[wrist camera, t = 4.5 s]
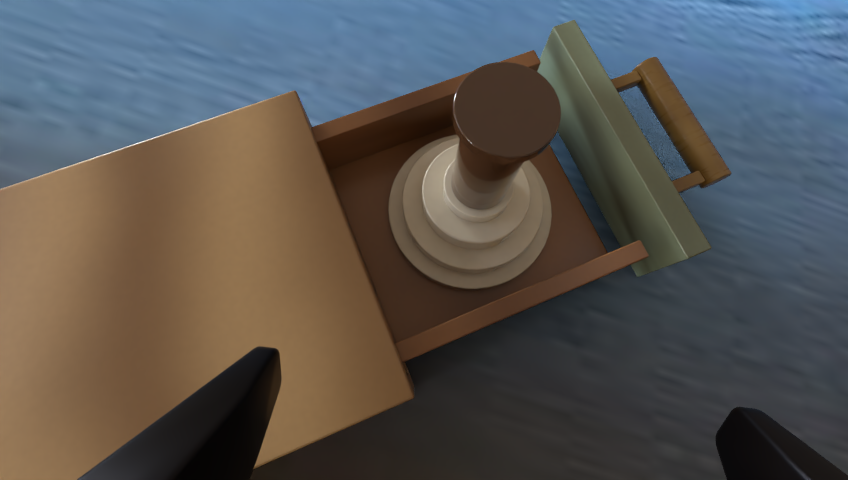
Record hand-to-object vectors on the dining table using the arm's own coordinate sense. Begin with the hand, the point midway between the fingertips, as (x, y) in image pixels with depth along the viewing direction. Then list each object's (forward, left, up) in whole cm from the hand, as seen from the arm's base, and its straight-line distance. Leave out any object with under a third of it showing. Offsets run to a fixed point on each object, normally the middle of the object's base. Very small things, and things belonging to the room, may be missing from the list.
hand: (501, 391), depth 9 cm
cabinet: (+12, -1, -13) cm, 18 cm away
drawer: (-3, -9, -13) cm, 16 cm away
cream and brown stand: (0, -8, -11) cm, 14 cm away
